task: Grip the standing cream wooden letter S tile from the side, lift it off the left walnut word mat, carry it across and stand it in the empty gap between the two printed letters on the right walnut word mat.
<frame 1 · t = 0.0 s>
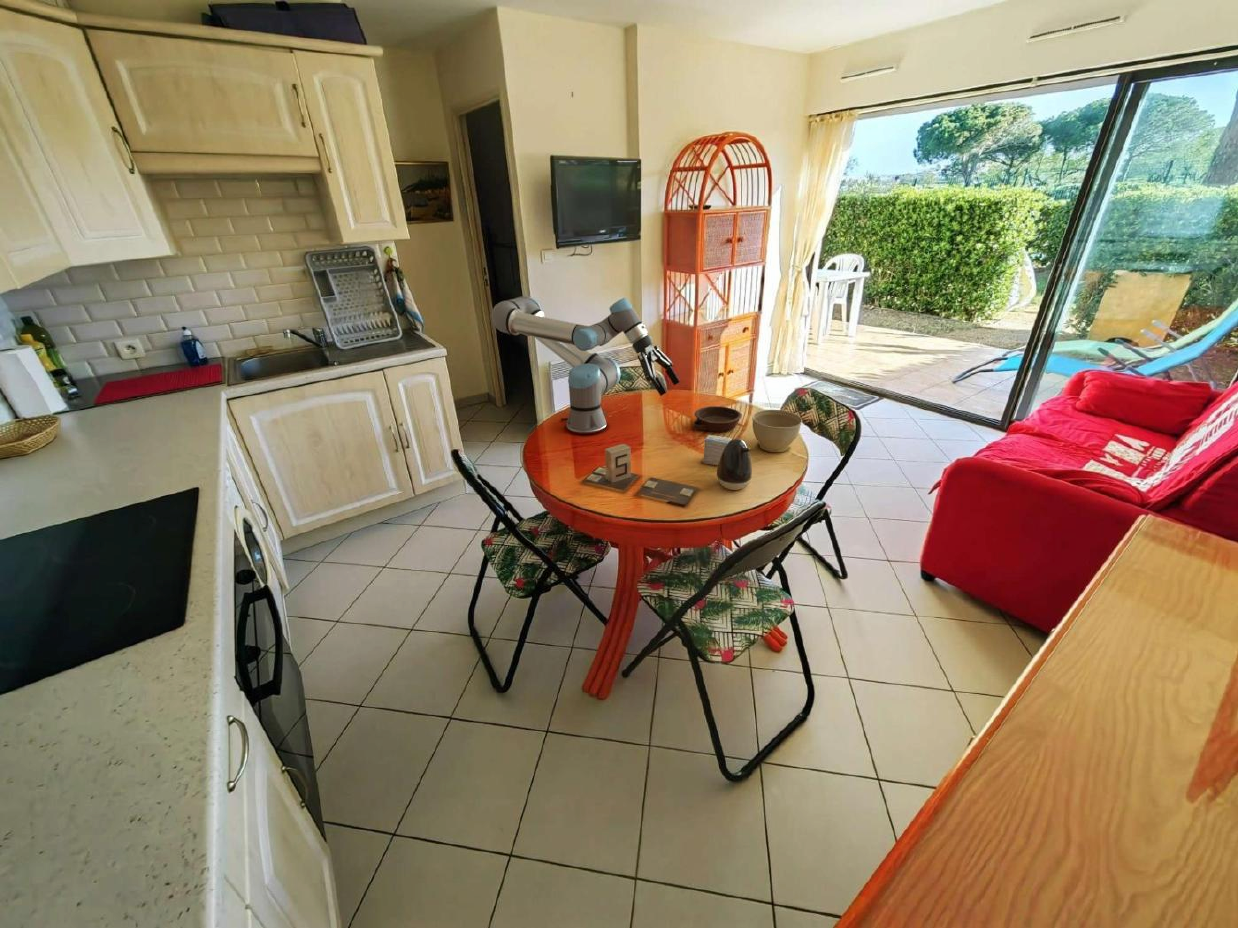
hand: (670, 388, 188), 15 cm above the table, tool tilted 35°, fingers open, 13 cm apart
right mat: (667, 492, 150), on the table
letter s: (618, 477, 157), point 1 cm above the table, touching left mat
pump dispenser: (733, 486, 153), on the table
planter bowl: (773, 447, 177), on the table
left mat: (611, 480, 157), on the table
dish: (717, 426, 195), on the table
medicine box: (716, 463, 167), on the table
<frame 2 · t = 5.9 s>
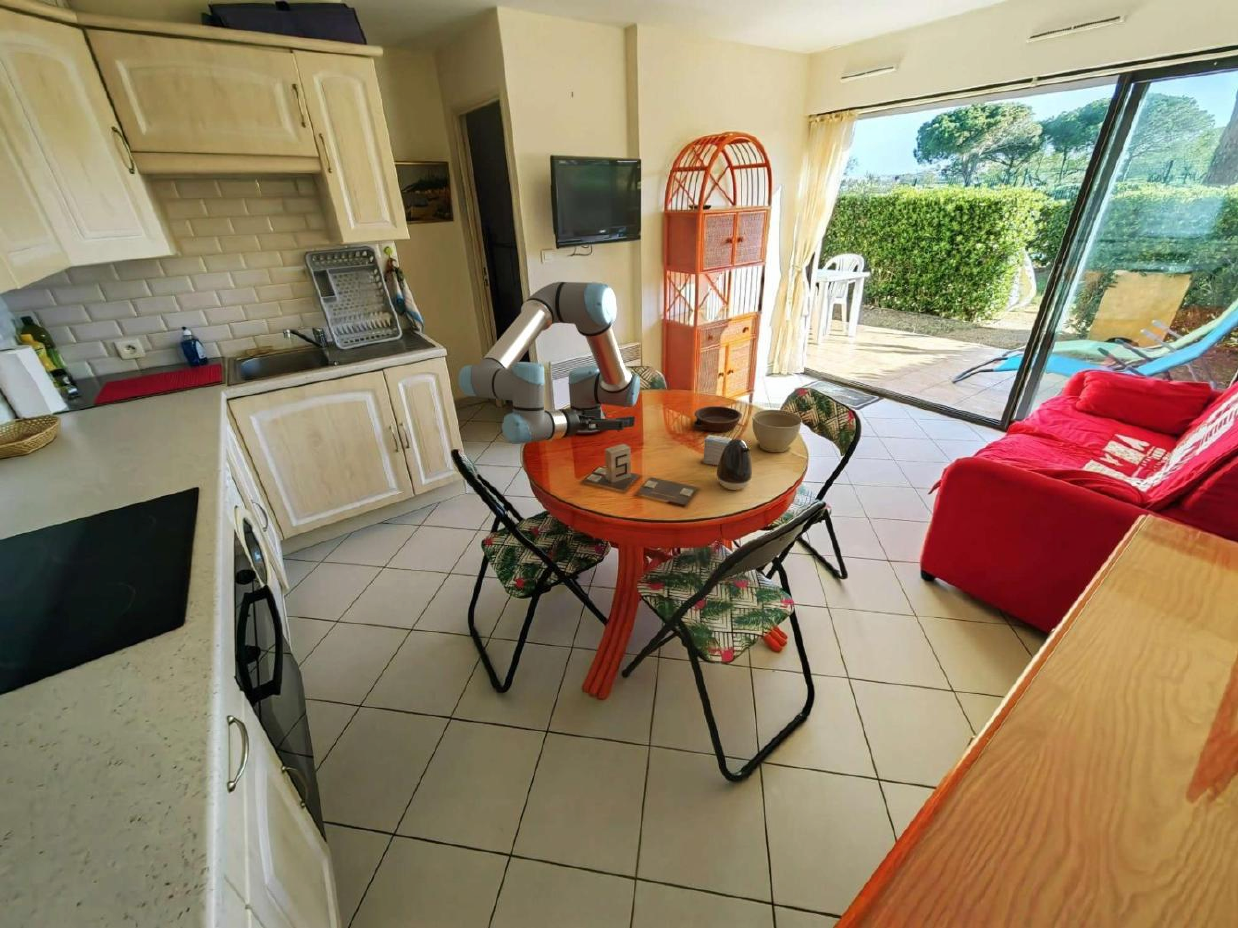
hand: (616, 417, 147), 21 cm above the table, tool horizontal, fingers open, 13 cm apart
nothing on the table moved.
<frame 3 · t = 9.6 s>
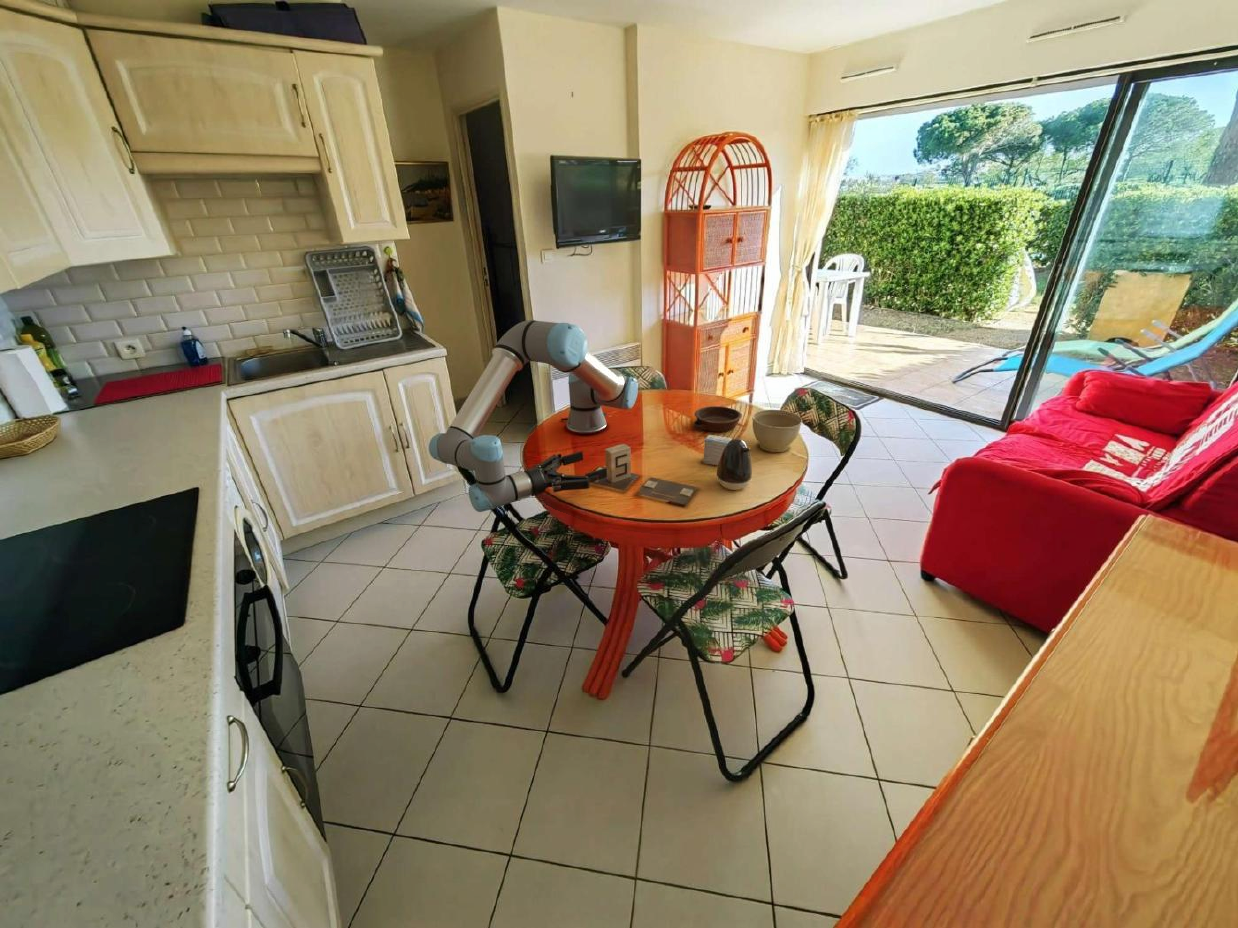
hand: (593, 463, 149), 8 cm above the table, tool horizontal, fingers open, 13 cm apart
nothing on the table moved.
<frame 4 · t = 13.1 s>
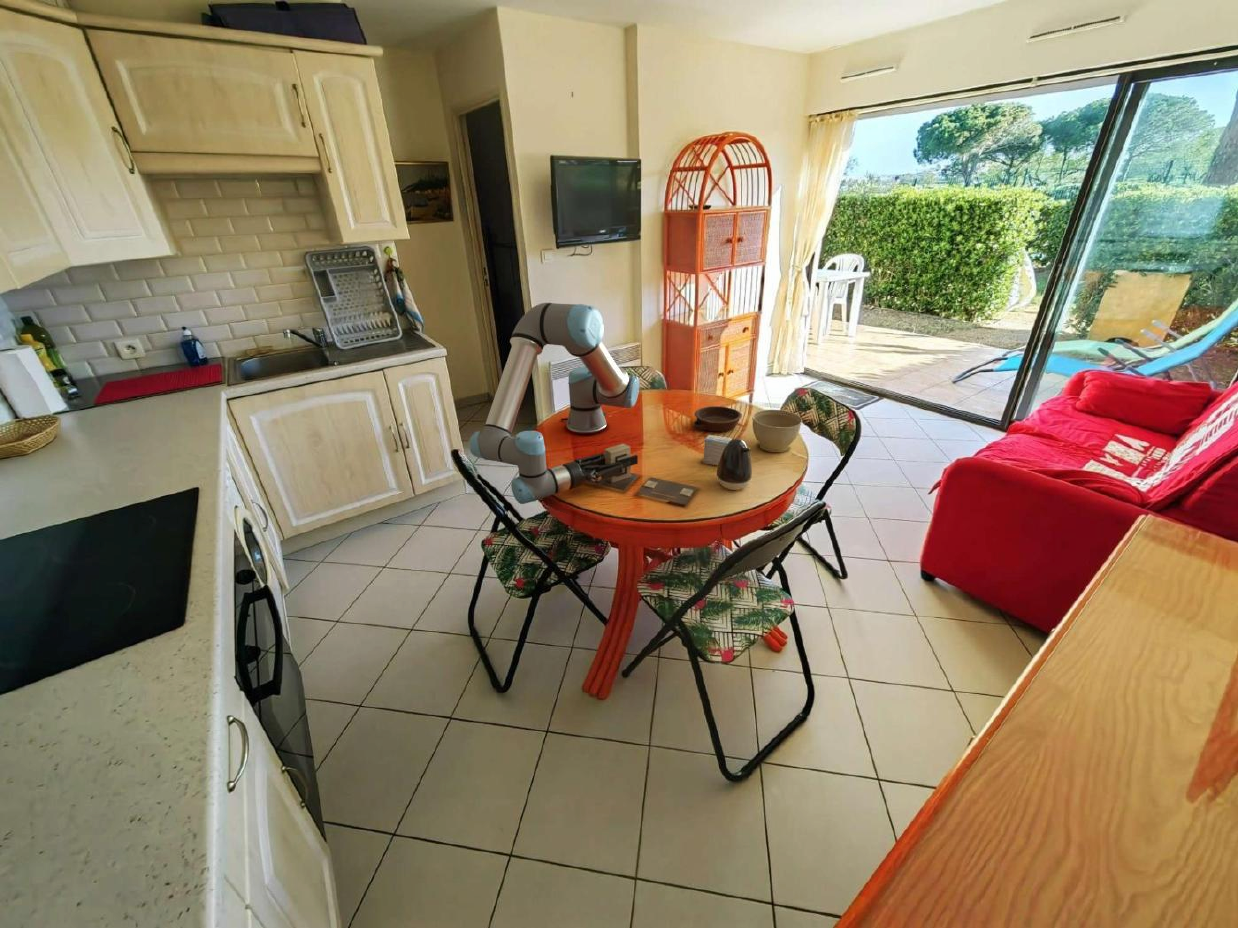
hand: (632, 456, 157), 7 cm above the table, tool horizontal, fingers closed on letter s, 4 cm apart
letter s: (618, 477, 157), point 1 cm above the table, touching gripper, left mat
everything else where it was.
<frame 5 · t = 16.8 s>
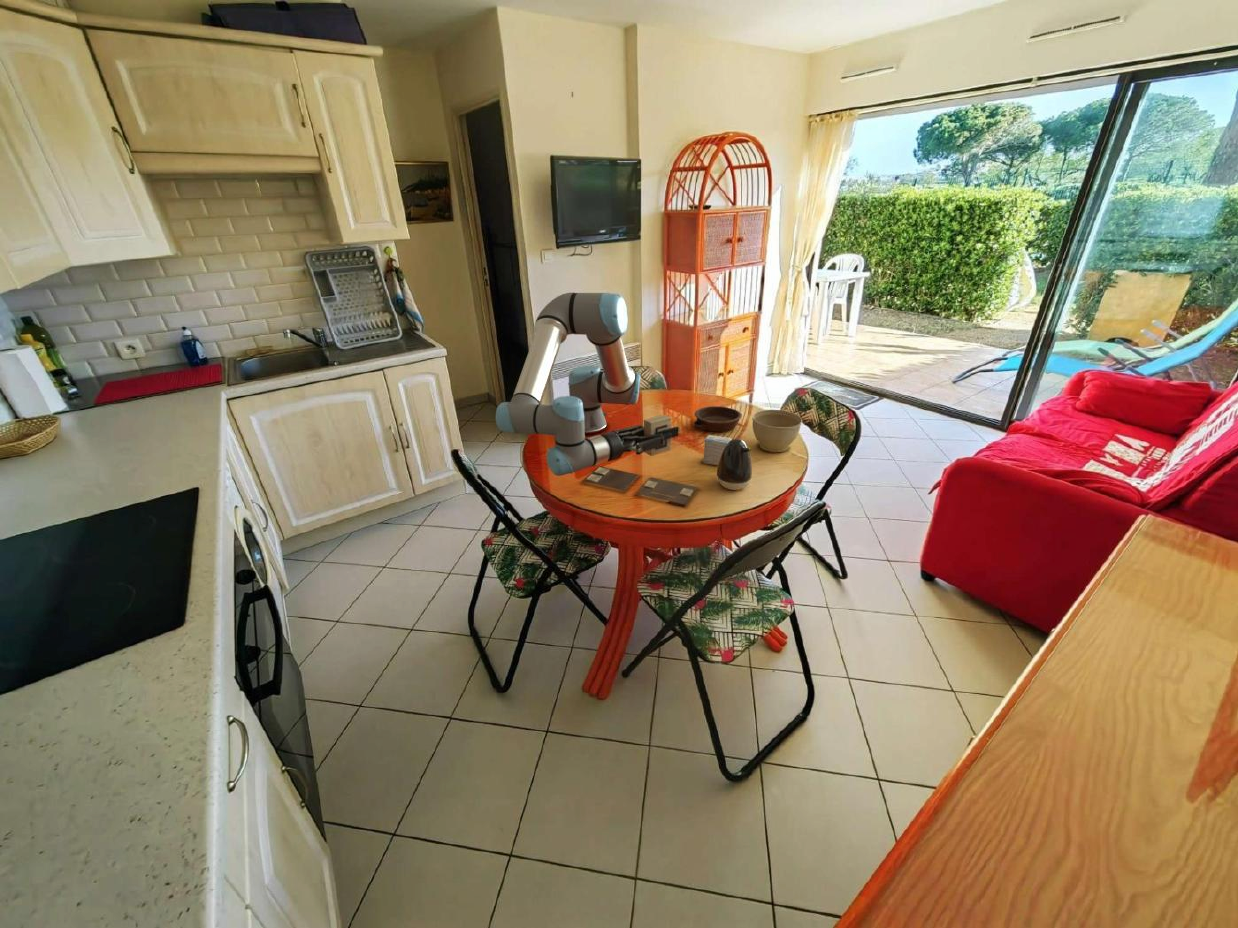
hand: (672, 428, 146), 18 cm above the table, tool horizontal, fingers closed on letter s, 4 cm apart
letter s: (657, 451, 146), point 12 cm above the table, touching gripper
everything else where it was.
when the fingers open (6 cm above the table, at t = 20.6 s): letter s stays where it is, resting on right mat.
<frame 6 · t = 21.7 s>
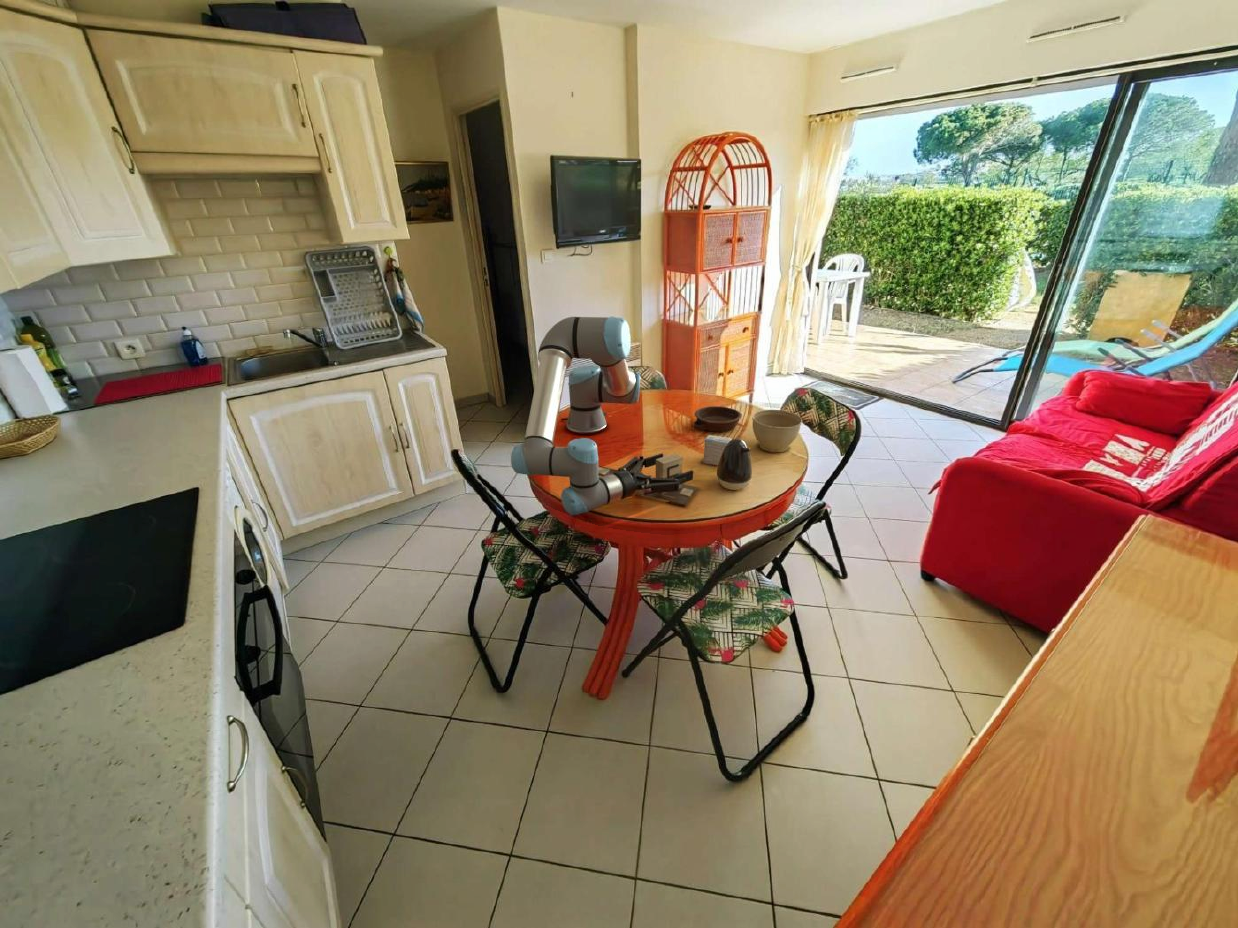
hand: (677, 465, 149), 7 cm above the table, tool horizontal, fingers open, 13 cm apart
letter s: (668, 488, 150), point 1 cm above the table, touching right mat
everything else where it was.
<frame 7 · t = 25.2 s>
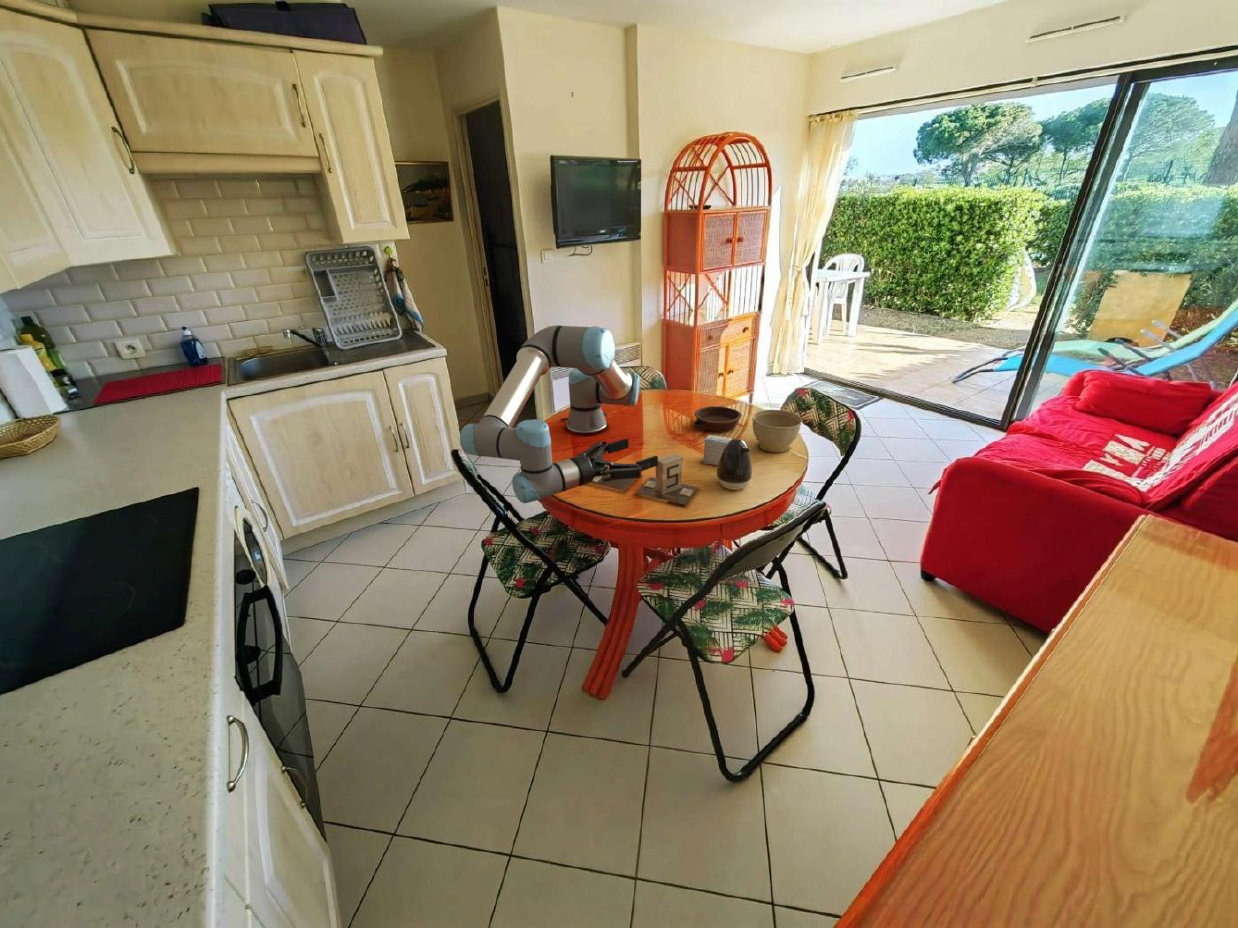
hand: (641, 451, 139), 16 cm above the table, tool horizontal, fingers open, 13 cm apart
nothing on the table moved.
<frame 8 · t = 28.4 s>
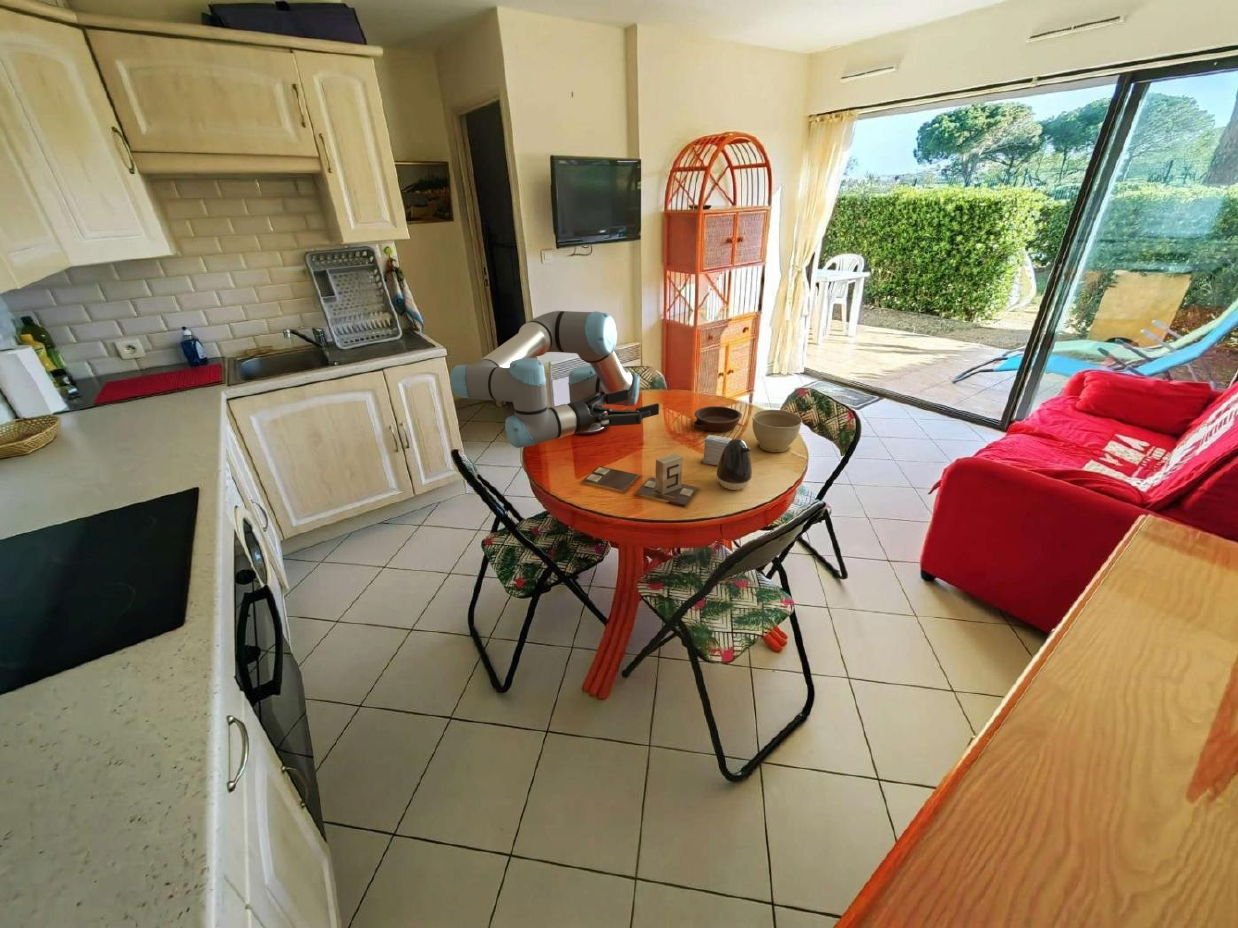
hand: (642, 401, 132), 30 cm above the table, tool horizontal, fingers open, 13 cm apart
nothing on the table moved.
at the end: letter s 0.0 cm from the target spot on the right mat, point 0.8 cm above the right mat's base; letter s tilted 0°; the gripper is holding nothing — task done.
